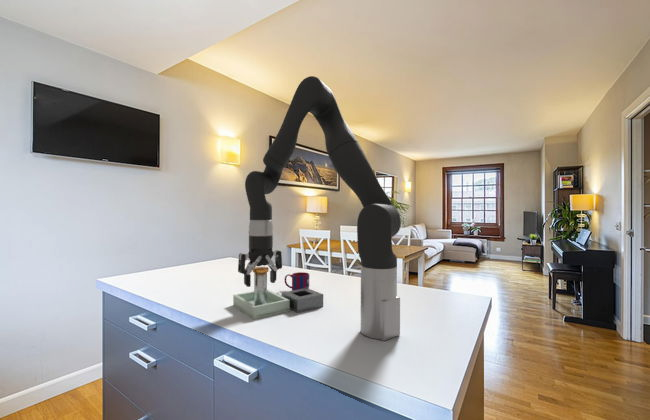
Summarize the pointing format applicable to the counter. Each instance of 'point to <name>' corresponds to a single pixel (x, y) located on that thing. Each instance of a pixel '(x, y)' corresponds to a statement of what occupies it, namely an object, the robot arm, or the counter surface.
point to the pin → (260, 285)
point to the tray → (272, 307)
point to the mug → (299, 280)
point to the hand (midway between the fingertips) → (260, 284)
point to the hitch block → (303, 299)
